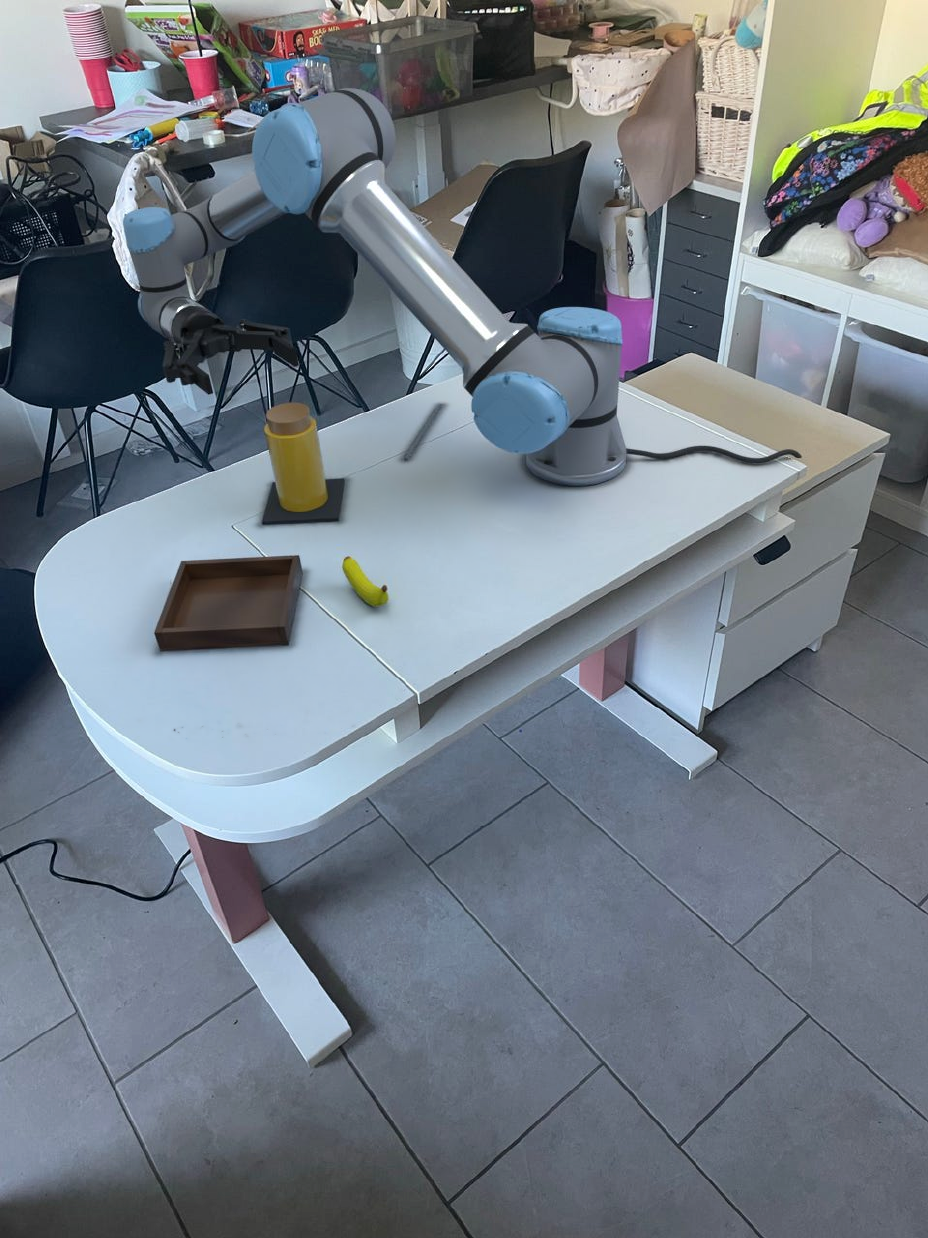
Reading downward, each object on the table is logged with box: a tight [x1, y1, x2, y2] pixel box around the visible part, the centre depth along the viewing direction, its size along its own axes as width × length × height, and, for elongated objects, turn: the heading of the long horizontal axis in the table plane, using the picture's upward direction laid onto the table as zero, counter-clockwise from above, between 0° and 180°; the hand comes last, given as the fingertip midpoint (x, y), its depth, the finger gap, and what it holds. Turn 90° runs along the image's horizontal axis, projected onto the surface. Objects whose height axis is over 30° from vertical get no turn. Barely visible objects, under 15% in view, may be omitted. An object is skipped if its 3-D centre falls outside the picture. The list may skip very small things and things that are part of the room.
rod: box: [403, 403, 444, 461], centre depth 150 cm, size 1×19×1 cm, turn 164°
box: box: [153, 554, 304, 652], centre depth 114 cm, size 16×15×3 cm
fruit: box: [341, 555, 389, 608], centre depth 114 cm, size 10×2×5 cm, turn 36°
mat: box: [261, 477, 346, 526], centre depth 134 cm, size 11×11×1 cm
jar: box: [263, 402, 328, 512], centre depth 130 cm, size 7×7×14 cm
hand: (253, 370), depth 129 cm, fingers open, 13 cm apart
